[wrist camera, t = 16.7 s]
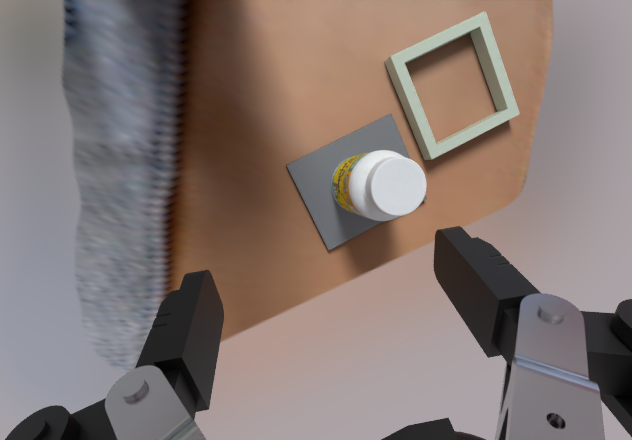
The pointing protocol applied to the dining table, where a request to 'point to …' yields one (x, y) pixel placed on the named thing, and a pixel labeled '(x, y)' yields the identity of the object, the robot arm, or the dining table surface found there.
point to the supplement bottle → (379, 185)
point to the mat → (318, 172)
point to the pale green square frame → (492, 72)
